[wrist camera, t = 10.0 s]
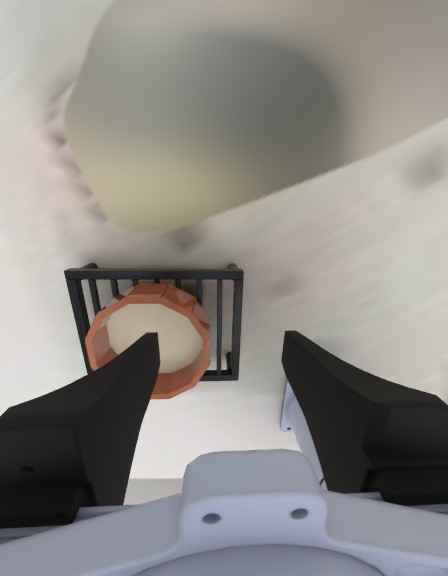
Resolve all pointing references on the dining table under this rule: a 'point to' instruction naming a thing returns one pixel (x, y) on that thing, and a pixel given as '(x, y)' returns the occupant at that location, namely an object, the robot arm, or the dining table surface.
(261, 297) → the dining table surface
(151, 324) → the terracotta bowl
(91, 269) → the rack
